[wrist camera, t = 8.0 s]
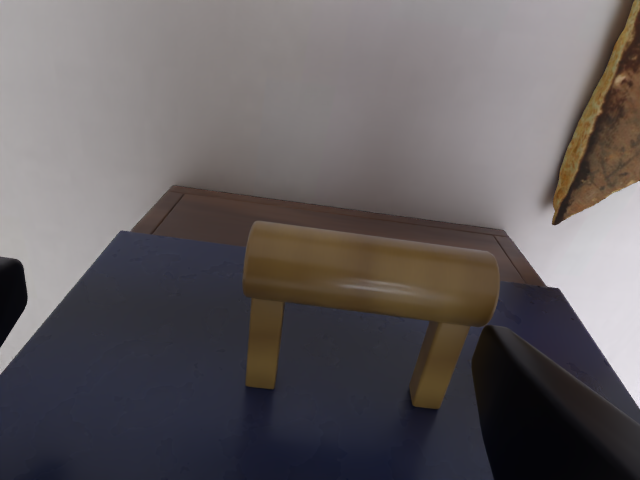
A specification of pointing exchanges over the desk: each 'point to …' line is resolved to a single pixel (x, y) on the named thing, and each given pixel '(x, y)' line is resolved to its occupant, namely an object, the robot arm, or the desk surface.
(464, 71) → the desk surface
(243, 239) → the chest
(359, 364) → the lid
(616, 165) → the shard
